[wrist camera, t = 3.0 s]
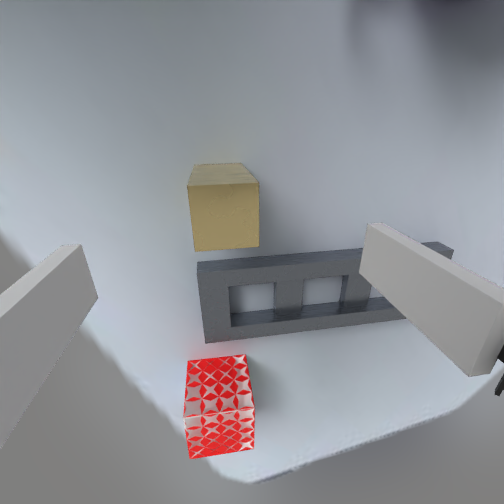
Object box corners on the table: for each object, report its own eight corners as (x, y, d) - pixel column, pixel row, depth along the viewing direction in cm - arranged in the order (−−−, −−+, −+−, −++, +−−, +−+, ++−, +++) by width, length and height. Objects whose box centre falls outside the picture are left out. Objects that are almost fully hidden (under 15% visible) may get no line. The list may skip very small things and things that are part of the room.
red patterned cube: (245, 392, 40) (253, 448, 33) (192, 399, 39) (189, 459, 32) (245, 353, 37) (254, 407, 30) (187, 360, 36) (183, 417, 29)
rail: (205, 329, 34) (205, 343, 32) (197, 262, 30) (196, 273, 27) (418, 304, 38) (431, 315, 36) (437, 241, 34) (454, 250, 31)
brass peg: (199, 210, 27) (194, 251, 18) (194, 164, 25) (187, 185, 16) (242, 207, 28) (259, 246, 19) (241, 163, 26) (258, 182, 17)
